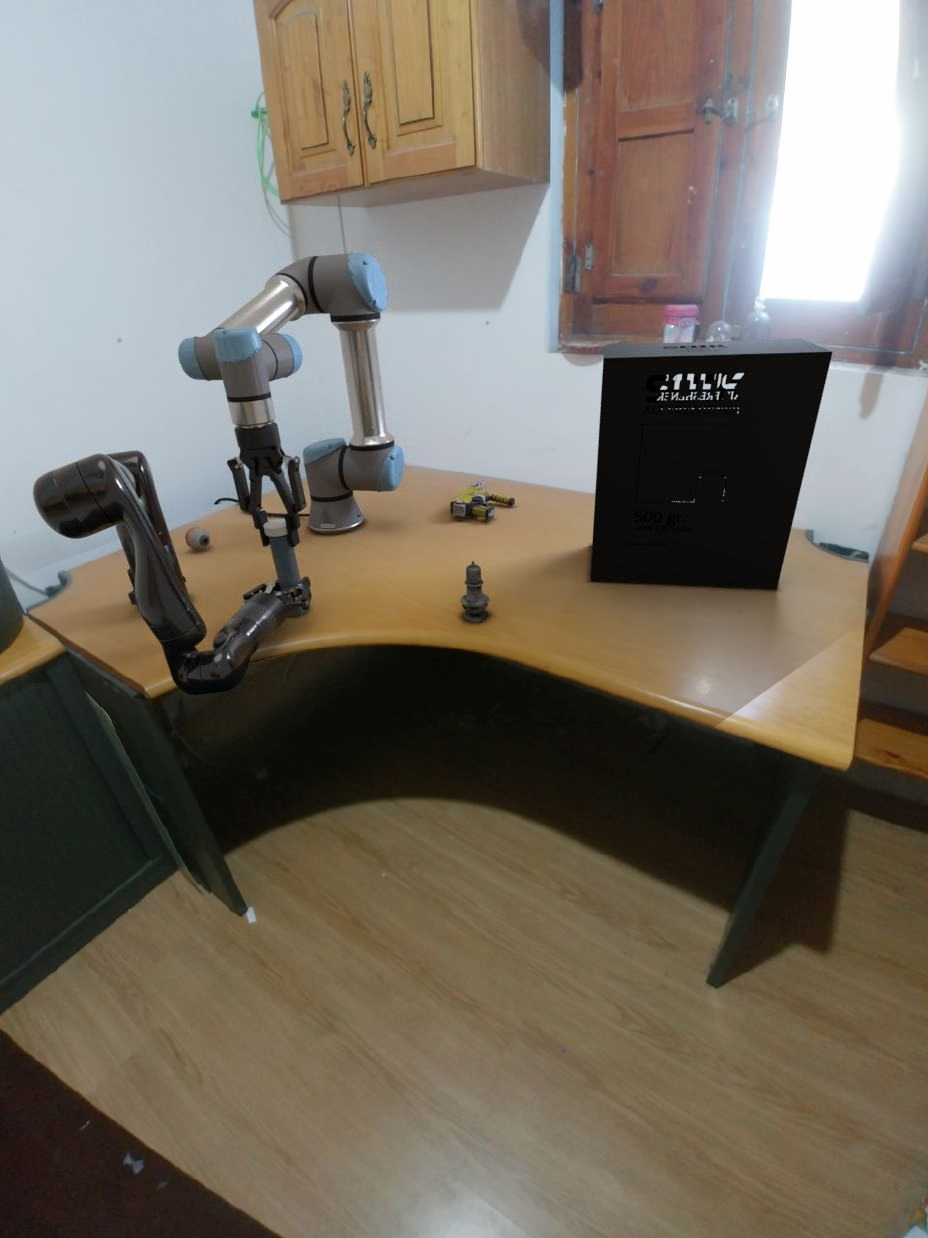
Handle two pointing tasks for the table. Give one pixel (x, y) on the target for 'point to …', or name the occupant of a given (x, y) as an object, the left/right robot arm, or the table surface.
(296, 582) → the bottle
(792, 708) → the table surface
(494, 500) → the toy gun
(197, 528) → the eyeball
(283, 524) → the lid
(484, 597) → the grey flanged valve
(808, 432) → the cardboard box
